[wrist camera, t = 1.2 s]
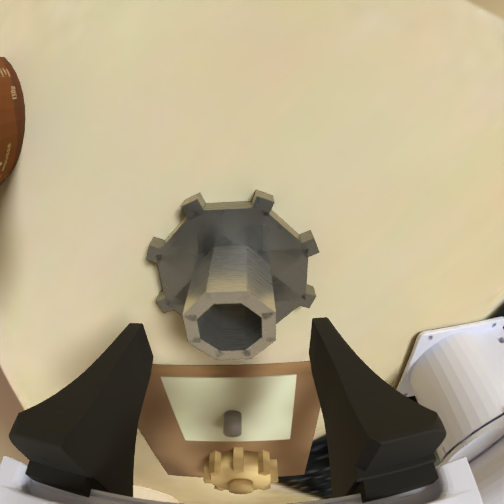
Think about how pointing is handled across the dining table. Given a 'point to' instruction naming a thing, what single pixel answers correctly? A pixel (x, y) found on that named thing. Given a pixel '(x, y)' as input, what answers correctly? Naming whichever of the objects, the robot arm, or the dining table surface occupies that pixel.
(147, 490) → the bottle
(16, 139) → the food container
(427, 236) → the dining table surface
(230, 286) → the planet gear
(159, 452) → the carrier board
